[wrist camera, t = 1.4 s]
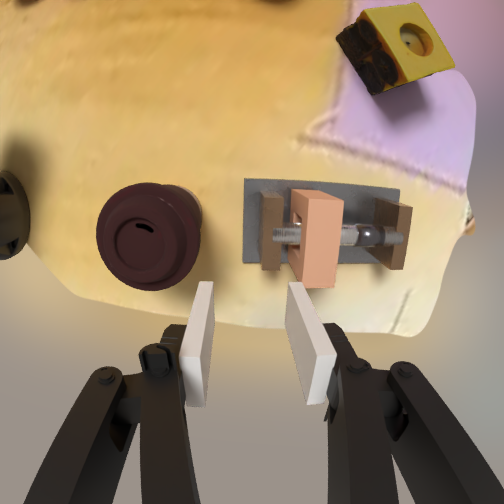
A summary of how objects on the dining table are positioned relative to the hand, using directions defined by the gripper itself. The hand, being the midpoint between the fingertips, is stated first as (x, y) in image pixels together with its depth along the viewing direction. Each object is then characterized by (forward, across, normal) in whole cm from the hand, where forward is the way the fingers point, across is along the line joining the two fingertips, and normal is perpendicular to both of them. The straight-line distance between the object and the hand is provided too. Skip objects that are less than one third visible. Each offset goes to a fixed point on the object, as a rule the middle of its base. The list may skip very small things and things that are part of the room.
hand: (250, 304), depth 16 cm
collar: (+21, +7, 0) cm, 22 cm away
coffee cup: (+23, -9, +1) cm, 25 cm away
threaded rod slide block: (+23, +11, 0) cm, 25 cm away
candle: (+23, +19, +25) cm, 39 cm away
